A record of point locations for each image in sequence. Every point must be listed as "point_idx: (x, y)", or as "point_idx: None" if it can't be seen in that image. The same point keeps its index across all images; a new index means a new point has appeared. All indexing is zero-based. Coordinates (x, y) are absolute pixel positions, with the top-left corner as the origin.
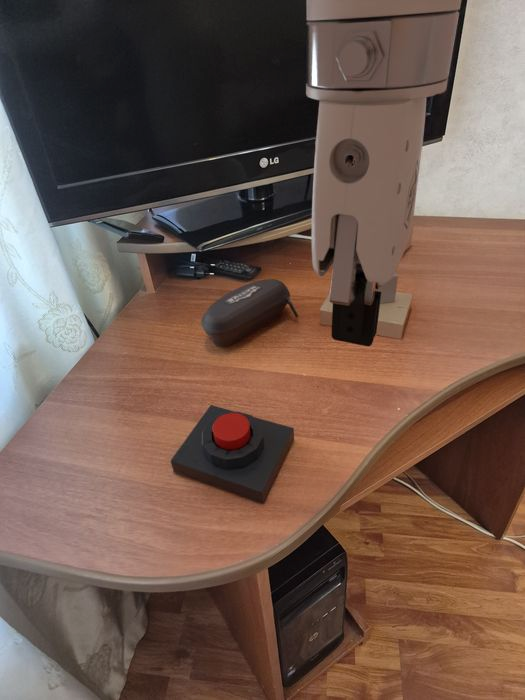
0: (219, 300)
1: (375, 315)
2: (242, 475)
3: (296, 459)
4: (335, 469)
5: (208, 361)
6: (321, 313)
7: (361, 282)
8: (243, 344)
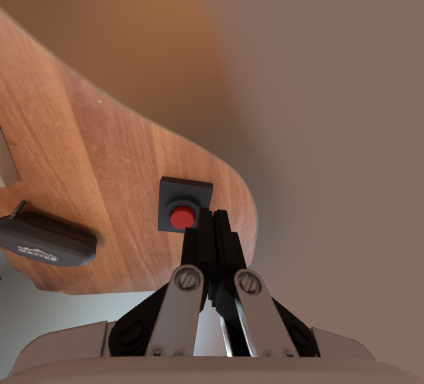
0: (58, 264)
1: (233, 243)
2: (204, 200)
3: (177, 172)
4: (178, 147)
5: (114, 240)
6: (8, 184)
7: (312, 356)
8: (84, 226)
